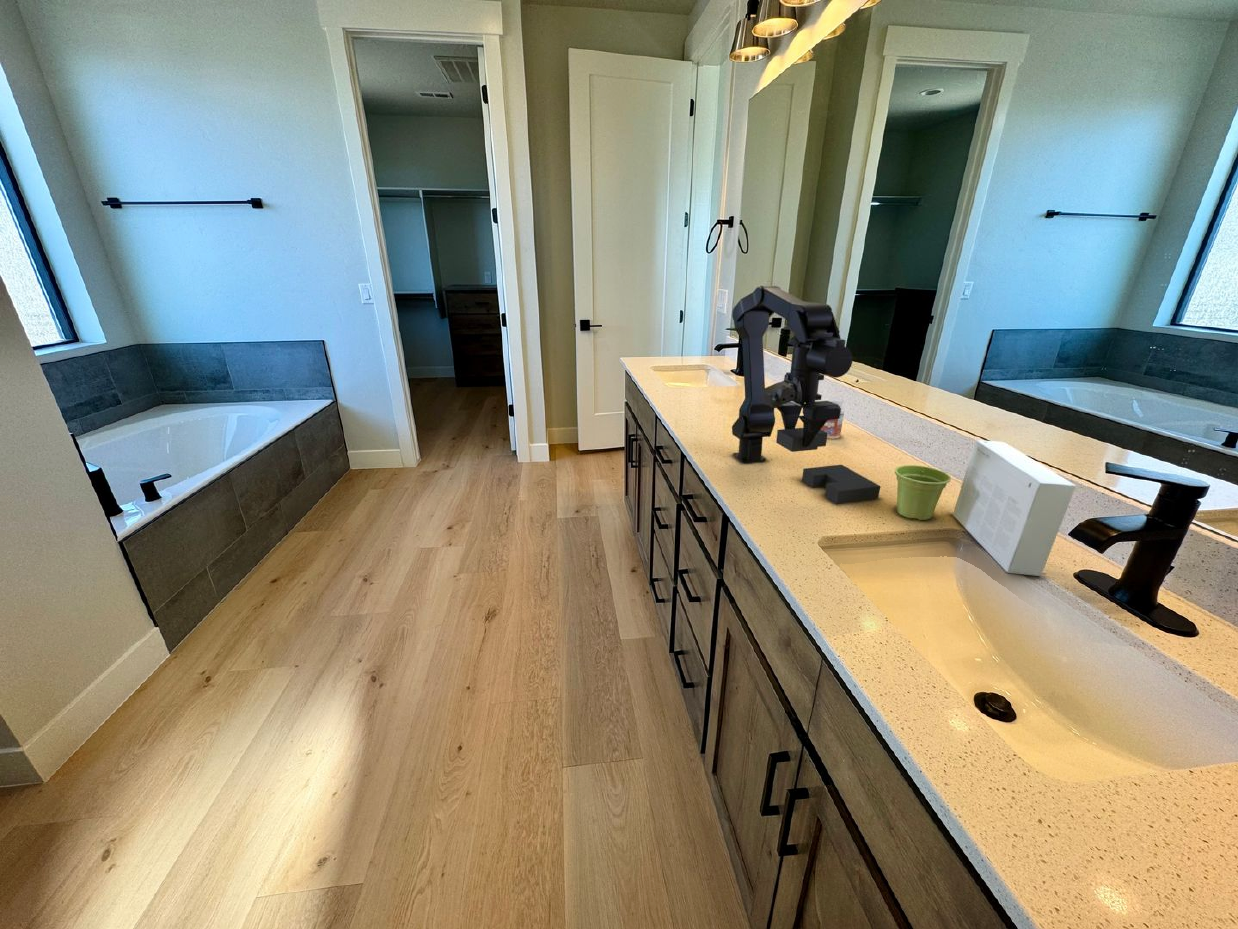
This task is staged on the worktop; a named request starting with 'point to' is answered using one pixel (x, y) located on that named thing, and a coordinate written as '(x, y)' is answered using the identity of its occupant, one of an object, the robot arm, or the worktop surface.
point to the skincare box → (1012, 506)
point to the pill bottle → (834, 420)
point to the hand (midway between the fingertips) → (797, 441)
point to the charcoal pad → (841, 483)
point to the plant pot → (919, 490)
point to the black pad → (799, 439)
